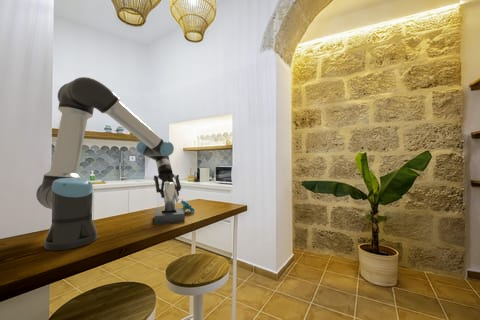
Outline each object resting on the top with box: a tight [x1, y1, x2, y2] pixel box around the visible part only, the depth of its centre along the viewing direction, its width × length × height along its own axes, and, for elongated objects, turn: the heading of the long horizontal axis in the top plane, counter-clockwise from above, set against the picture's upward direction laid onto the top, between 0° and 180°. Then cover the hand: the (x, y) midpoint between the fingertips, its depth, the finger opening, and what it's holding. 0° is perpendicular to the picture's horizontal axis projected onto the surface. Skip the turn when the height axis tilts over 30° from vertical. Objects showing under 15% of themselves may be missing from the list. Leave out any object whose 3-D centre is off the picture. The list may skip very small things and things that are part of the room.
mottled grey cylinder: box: [164, 181, 176, 211], centre depth 107 cm, size 5×5×14 cm
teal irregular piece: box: [180, 199, 196, 213], centre depth 121 cm, size 11×6×10 cm
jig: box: [154, 207, 186, 225], centre depth 107 cm, size 14×14×4 cm
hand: (171, 201), depth 104 cm, fingers closed on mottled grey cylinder, 5 cm apart
